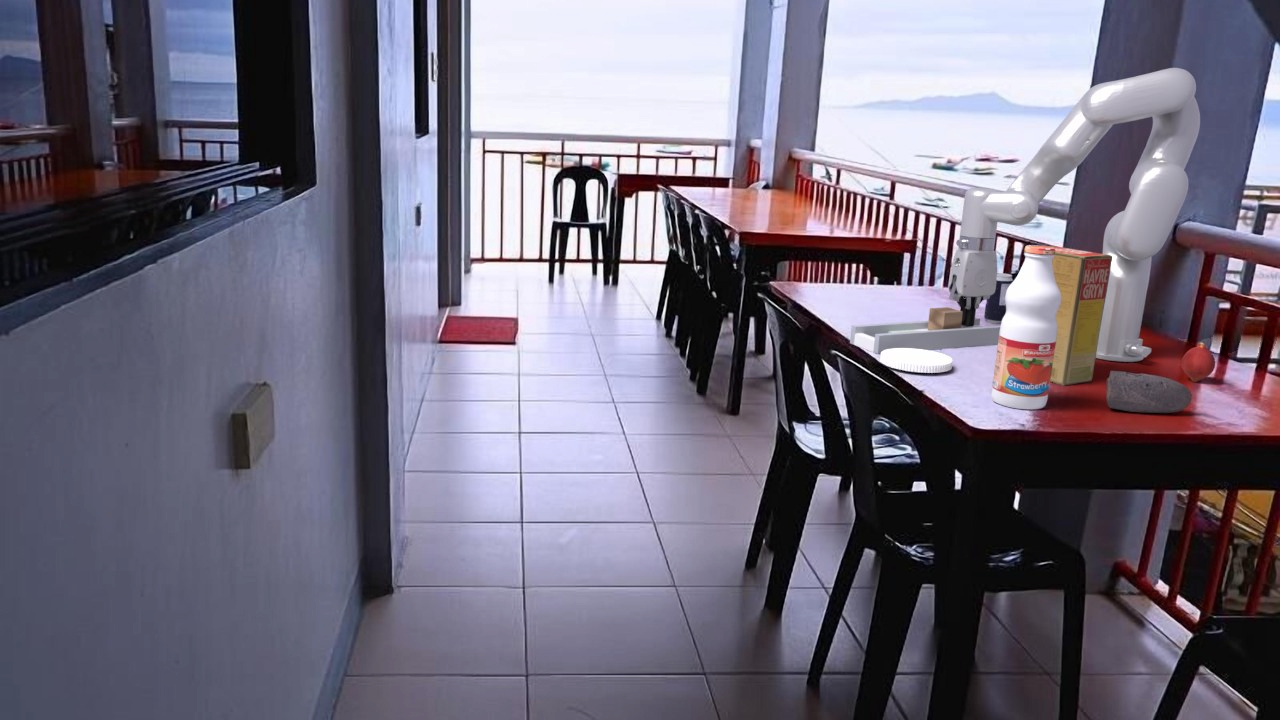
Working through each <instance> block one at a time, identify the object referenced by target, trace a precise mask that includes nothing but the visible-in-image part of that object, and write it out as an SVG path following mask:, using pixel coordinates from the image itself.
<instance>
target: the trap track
mask: <svg viewBox="0 0 1280 720" xmlns="http://www.w3.org/2000/svg"><path fill="white" fill-rule="evenodd" d="M928 321H929V320H918V321H915V320H914V321H905V322H903V321H901V322H889V323H888V322H885V323H872V324H871V323H870V324H858V325H857V324H854V325H851V328H850V339H849V344H850V345H854V346H856V347H859V348H862V349H863V350H866V351H869V352H872V353H874V354H877V355H881V352H882V351H884V350H887V349H893V348H914V349H923V350H929V351H934V350H935V351H936V350H945V349H946V350H947V349H958V348H959V349H960V348H969V347H972V348H973V347H982V346H984V347H985V346H998V340H999V332H1000V326H1001V325H988V326H983V325H980V323H981V318H978V317H975V321H974V326H969V327H967V326H964V325H961V328H957V329H942V330H927V329H928Z"/></svg>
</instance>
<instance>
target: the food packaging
mask: <svg viewBox="0 0 1280 720" xmlns="http://www.w3.org/2000/svg"><path fill="white" fill-rule="evenodd" d="M1048 247H1053V248H1055V255H1054V258H1053V259H1052V266H1053V271H1054V276H1055V280H1056V283H1057V286H1058V288H1059V290H1060V292H1061V305H1060V307H1059V310H1058V312H1057V314H1056V321H1057V325H1058V330H1057V340H1056V346H1055V352H1054V359H1053V366H1052V372H1051V379H1050V383H1052V382H1053V384H1056V385H1060V386H1062V387H1063V386H1071V385H1075V384H1082V383H1083V384H1084V383H1087V382H1092V381H1093V377H1094V376H1093V375H1094V369H1095V362H1096V359H1097V358H1096V352H1097V346H1098V339H1099V333H1100V327H1101V321H1102V315H1103V309H1104V304H1105V298H1106V293H1107V287H1108V281H1109V275H1110V269H1111V263H1112V258H1113V256H1112V255H1105V254H1103V253H1097V252H1092V251H1087V250H1082V249H1081V250H1079V249H1075V248H1067V247H1062V246H1058V245H1057V246H1056V245H1053V246H1052V245H1049V246H1048Z"/></svg>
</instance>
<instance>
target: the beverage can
mask: <svg viewBox="0 0 1280 720" xmlns="http://www.w3.org/2000/svg"><path fill="white" fill-rule="evenodd" d="M1013 281H1014V279H1013V275H1012V274H1009V273H1002V272H997V281H996V289H995V293H994V294H992V295H990V298H989V299H986V300H985V308H984V314H983V315H984V317H983V318H984V319H985V320H986V322H987V323H991V324H999V325H1001V322H1002V319H1003V317H1004V315H1005V313H1006V303H1005V295H1006V291H1007V289H1008V287H1009V286H1010V285H1011V283H1012V282H1013Z"/></svg>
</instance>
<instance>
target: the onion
mask: <svg viewBox="0 0 1280 720" xmlns="http://www.w3.org/2000/svg"><path fill="white" fill-rule="evenodd" d="M1180 365H1181V366H1180V367H1181V369H1182V371H1183V372H1184V373H1185V375H1187V376H1188V377H1189V378H1190V381H1192V382H1200V381H1201V380H1203V379H1206V378H1207V377H1208V376H1210V375H1211V374H1212V373H1213V372H1214V370H1215V367H1216V359H1215V356H1214V355H1213V353H1212V352H1211V351H1210V350H1209V348H1207V347H1206V345H1205V343H1204V342H1199V343H1197V346H1195V347H1192V348H1190V349H1188V350H1187V351H1186V352H1185V354H1184V355H1183V357H1182V359H1181V363H1180Z"/></svg>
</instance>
